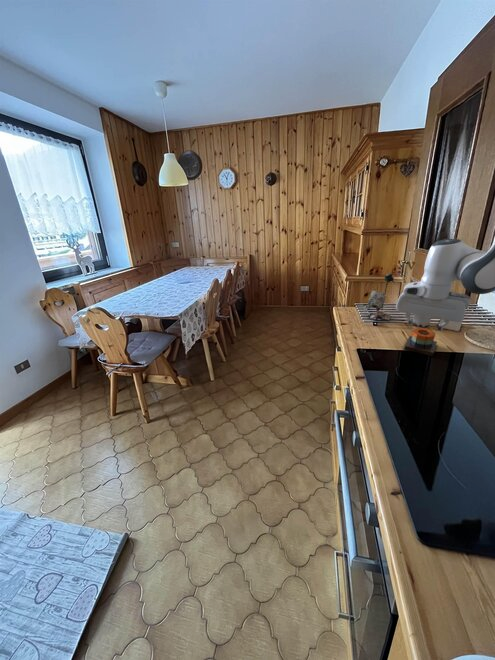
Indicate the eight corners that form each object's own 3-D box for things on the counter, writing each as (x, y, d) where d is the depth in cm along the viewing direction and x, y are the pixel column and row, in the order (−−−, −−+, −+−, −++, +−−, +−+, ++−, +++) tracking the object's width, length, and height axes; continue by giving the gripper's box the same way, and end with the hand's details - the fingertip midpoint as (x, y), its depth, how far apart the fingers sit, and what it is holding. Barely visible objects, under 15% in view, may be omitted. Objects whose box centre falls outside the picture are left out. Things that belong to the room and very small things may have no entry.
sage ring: (434, 338, 103) (435, 334, 102) (431, 346, 98) (432, 342, 97) (413, 333, 107) (414, 330, 106) (409, 341, 102) (410, 337, 101)
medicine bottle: (440, 321, 121) (448, 294, 116) (461, 324, 117) (469, 297, 111) (437, 327, 116) (445, 300, 111) (458, 331, 112) (467, 303, 107)
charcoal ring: (433, 342, 104) (434, 338, 103) (430, 350, 99) (431, 346, 98) (412, 337, 107) (413, 333, 107) (408, 345, 103) (409, 341, 102)
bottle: (425, 321, 122) (436, 276, 113) (432, 328, 116) (445, 281, 107) (408, 321, 123) (418, 276, 114) (415, 328, 117) (426, 281, 108)
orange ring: (435, 334, 102) (436, 330, 101) (432, 342, 97) (433, 338, 97) (414, 330, 106) (415, 326, 105) (410, 337, 101) (411, 333, 100)
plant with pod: (366, 311, 134) (372, 270, 125) (392, 316, 128) (400, 273, 119) (362, 318, 128) (367, 275, 119) (388, 323, 122) (397, 278, 113)
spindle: (436, 345, 104) (440, 330, 102) (432, 356, 98) (436, 341, 95) (409, 339, 109) (412, 325, 107) (404, 349, 103) (407, 335, 100)
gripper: (473, 292, 90) (460, 330, 97) (402, 282, 102) (395, 317, 108) (472, 298, 86) (458, 338, 92) (398, 287, 97) (391, 323, 104)
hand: (424, 326), depth 100 cm, fingers open, 8 cm apart
